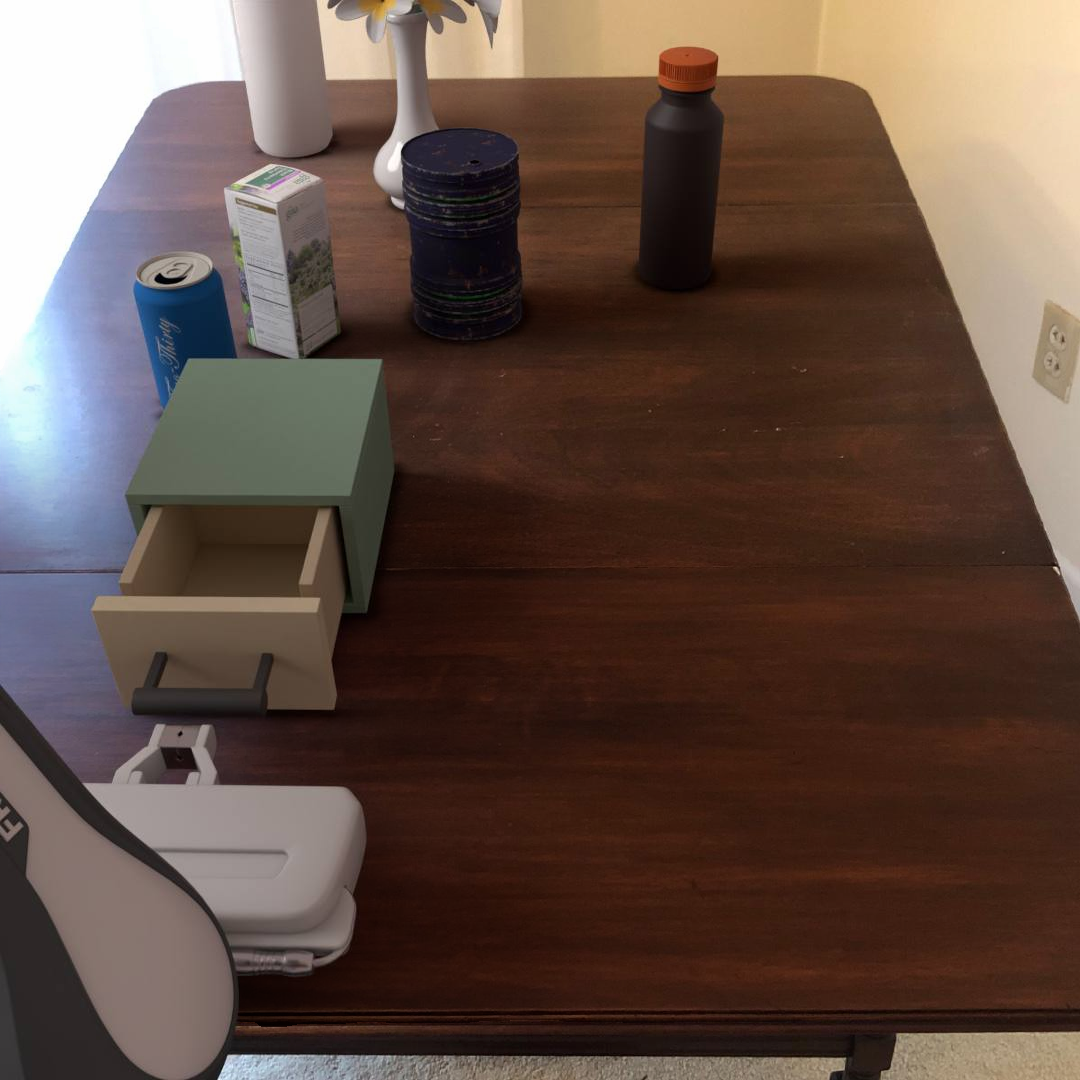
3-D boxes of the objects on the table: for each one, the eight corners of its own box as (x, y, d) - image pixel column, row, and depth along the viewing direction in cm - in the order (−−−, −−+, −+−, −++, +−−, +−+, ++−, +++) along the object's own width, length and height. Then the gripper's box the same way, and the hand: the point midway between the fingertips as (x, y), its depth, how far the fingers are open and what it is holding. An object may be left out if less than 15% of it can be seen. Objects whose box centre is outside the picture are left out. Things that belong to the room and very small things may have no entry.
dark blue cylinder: (395, 301, 111) (380, 140, 101) (493, 277, 114) (487, 119, 105) (440, 351, 104) (428, 183, 94) (542, 324, 107) (541, 159, 98)
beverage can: (148, 422, 96) (112, 284, 88) (185, 379, 101) (155, 245, 93) (224, 432, 95) (194, 294, 87) (258, 388, 100) (233, 253, 92)
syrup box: (291, 317, 109) (267, 159, 99) (344, 334, 106) (324, 174, 97) (248, 346, 105) (219, 184, 96) (302, 364, 103) (277, 200, 93)
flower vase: (522, 218, 124) (517, -47, 108) (339, 231, 122) (307, -37, 106) (507, 168, 134) (500, -82, 118) (337, 179, 132) (307, -74, 116)
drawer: (322, 767, 68) (303, 668, 63) (101, 764, 68) (65, 666, 63) (367, 550, 82) (354, 456, 77) (184, 548, 83) (160, 454, 78)
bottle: (630, 286, 113) (639, 65, 100) (647, 253, 118) (658, 39, 105) (702, 296, 111) (721, 72, 98) (717, 262, 116) (736, 46, 103)
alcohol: (260, 131, 143) (214, -161, 124) (336, 128, 143) (301, -163, 124) (251, 160, 136) (201, -143, 117) (330, 158, 136) (293, -146, 117)
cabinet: (366, 613, 79) (350, 495, 73) (157, 612, 79) (124, 494, 73) (394, 470, 91) (382, 358, 85) (213, 469, 91) (188, 358, 85)
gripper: (338, 935, 51) (379, 692, 62) (-143, 927, 52) (-20, 687, 62) (354, 1013, 55) (390, 773, 66) (-93, 1005, 56) (15, 768, 66)
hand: (187, 731), depth 64 cm, fingers closed
